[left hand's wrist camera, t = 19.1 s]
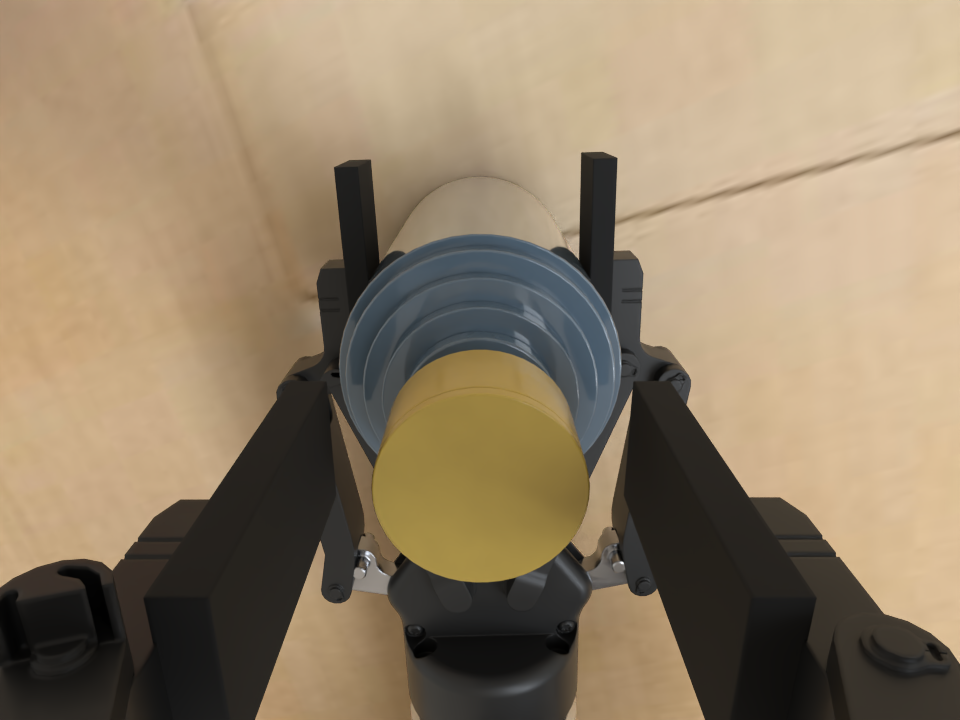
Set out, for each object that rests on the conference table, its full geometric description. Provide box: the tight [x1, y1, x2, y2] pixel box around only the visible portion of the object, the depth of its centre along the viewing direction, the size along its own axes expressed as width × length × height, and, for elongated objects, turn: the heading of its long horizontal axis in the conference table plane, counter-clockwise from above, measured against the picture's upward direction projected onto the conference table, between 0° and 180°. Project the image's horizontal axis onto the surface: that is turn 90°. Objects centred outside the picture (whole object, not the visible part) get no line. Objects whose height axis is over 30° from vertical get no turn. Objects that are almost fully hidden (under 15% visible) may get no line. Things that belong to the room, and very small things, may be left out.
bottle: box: [339, 177, 622, 455], centre depth 22 cm, size 7×7×19 cm
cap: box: [371, 350, 590, 582], centre depth 14 cm, size 4×4×2 cm
